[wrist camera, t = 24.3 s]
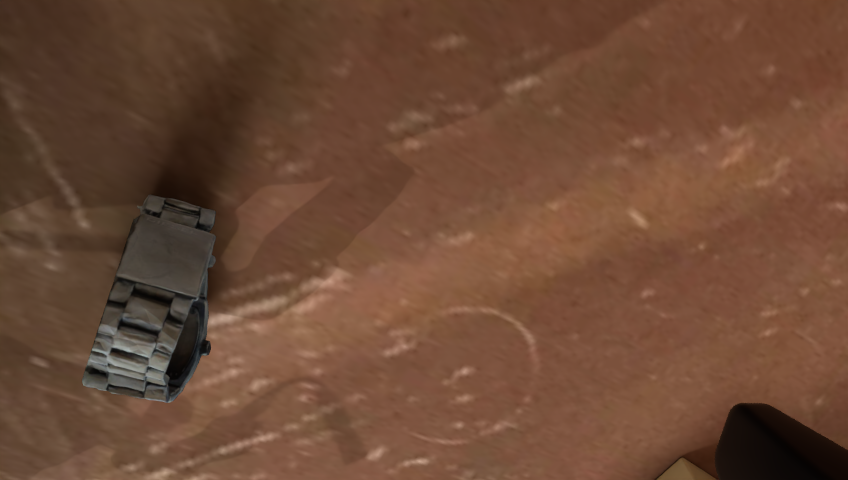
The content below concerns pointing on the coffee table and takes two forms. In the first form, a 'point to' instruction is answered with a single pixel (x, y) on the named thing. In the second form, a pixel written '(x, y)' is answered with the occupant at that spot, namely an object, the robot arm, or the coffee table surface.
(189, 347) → the wristwatch
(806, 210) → the coffee table surface
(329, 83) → the coffee table surface
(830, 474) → the robot arm
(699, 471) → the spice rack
